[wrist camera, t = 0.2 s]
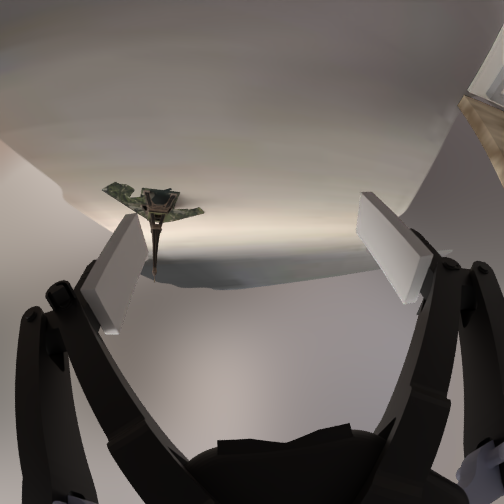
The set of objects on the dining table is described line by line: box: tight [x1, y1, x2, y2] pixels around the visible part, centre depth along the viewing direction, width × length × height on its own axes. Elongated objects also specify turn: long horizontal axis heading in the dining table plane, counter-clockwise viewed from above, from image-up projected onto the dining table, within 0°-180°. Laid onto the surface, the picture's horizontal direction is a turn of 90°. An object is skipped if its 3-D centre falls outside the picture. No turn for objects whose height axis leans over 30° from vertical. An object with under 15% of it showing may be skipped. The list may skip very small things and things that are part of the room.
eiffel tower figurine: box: [102, 182, 204, 282], centre depth 38 cm, size 15×10×13 cm
